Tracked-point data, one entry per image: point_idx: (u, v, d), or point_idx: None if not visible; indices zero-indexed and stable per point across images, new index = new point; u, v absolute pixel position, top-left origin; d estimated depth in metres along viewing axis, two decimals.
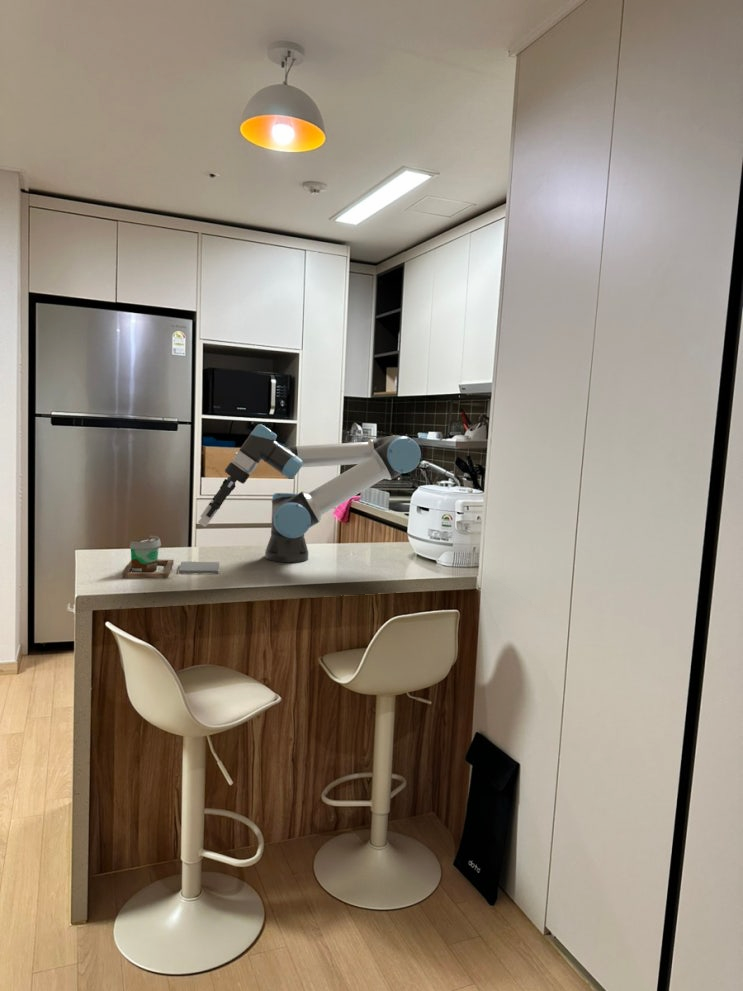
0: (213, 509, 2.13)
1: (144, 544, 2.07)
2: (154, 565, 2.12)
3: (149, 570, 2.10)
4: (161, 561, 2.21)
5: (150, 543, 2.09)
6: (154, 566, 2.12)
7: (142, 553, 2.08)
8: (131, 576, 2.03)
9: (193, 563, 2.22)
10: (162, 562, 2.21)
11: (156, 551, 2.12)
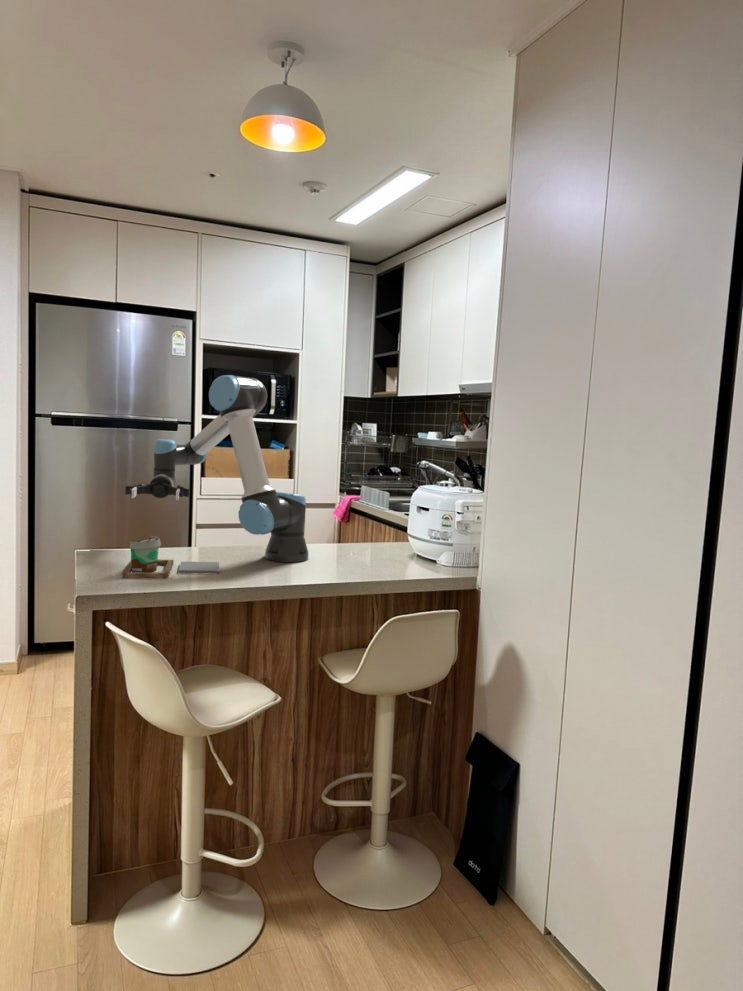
0: (130, 490, 2.24)
1: (144, 544, 2.07)
2: (154, 565, 2.12)
3: (149, 570, 2.10)
4: (161, 561, 2.21)
5: (150, 543, 2.09)
6: (154, 566, 2.12)
7: (142, 553, 2.08)
8: (131, 576, 2.03)
9: (193, 563, 2.22)
10: (162, 562, 2.21)
11: (156, 551, 2.12)
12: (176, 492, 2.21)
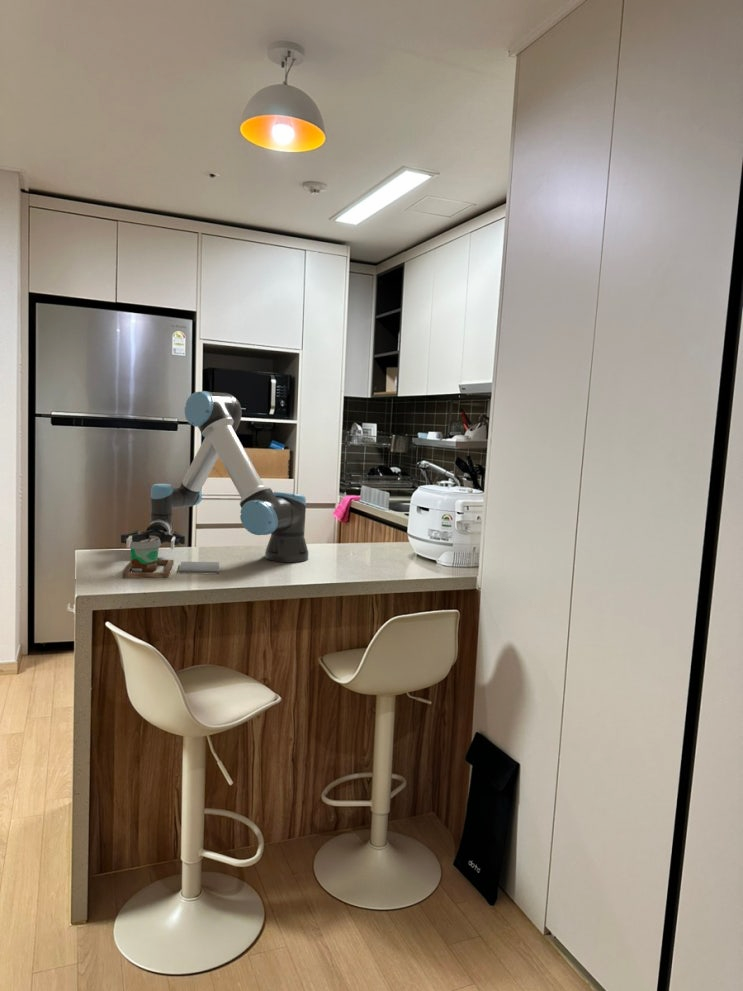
0: (125, 539, 2.23)
1: (144, 544, 2.07)
2: (154, 565, 2.12)
3: (149, 570, 2.10)
4: (161, 561, 2.21)
5: (150, 543, 2.09)
6: (154, 566, 2.12)
7: (142, 553, 2.08)
8: (131, 576, 2.03)
9: (193, 563, 2.22)
10: (162, 562, 2.21)
11: (156, 551, 2.12)
12: (171, 541, 2.20)
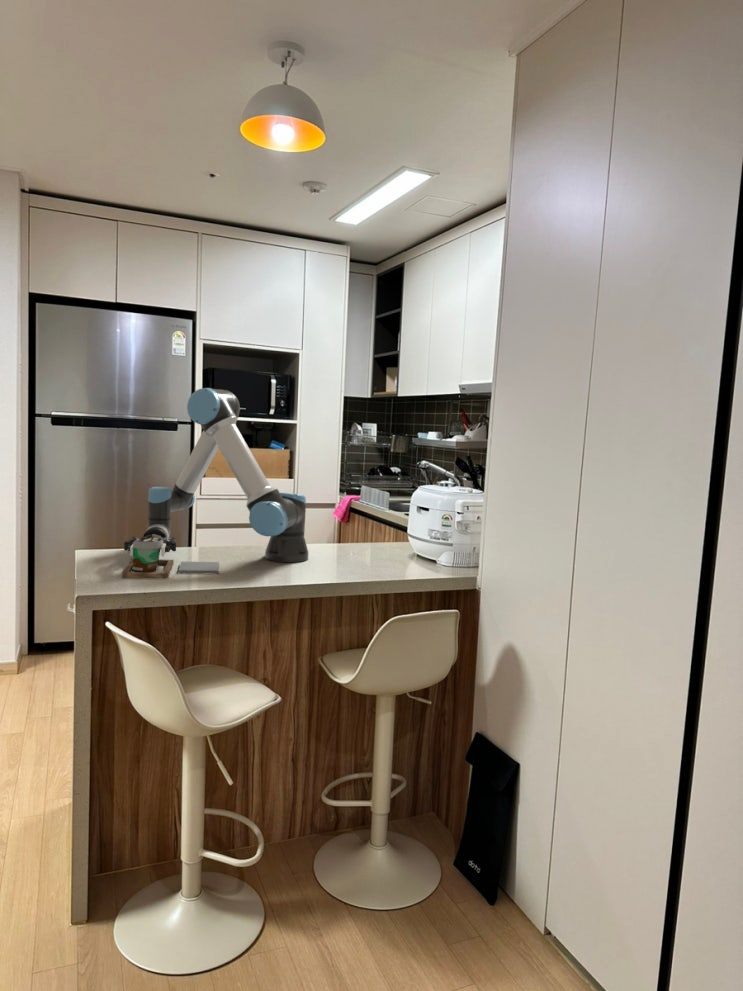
0: None
1: (147, 544, 2.07)
2: (155, 565, 2.12)
3: (150, 570, 2.10)
4: (161, 561, 2.21)
5: (153, 544, 2.08)
6: (155, 566, 2.12)
7: (144, 553, 2.08)
8: (131, 576, 2.03)
9: (193, 563, 2.22)
10: (162, 562, 2.21)
11: (158, 551, 2.12)
12: (161, 548, 2.08)
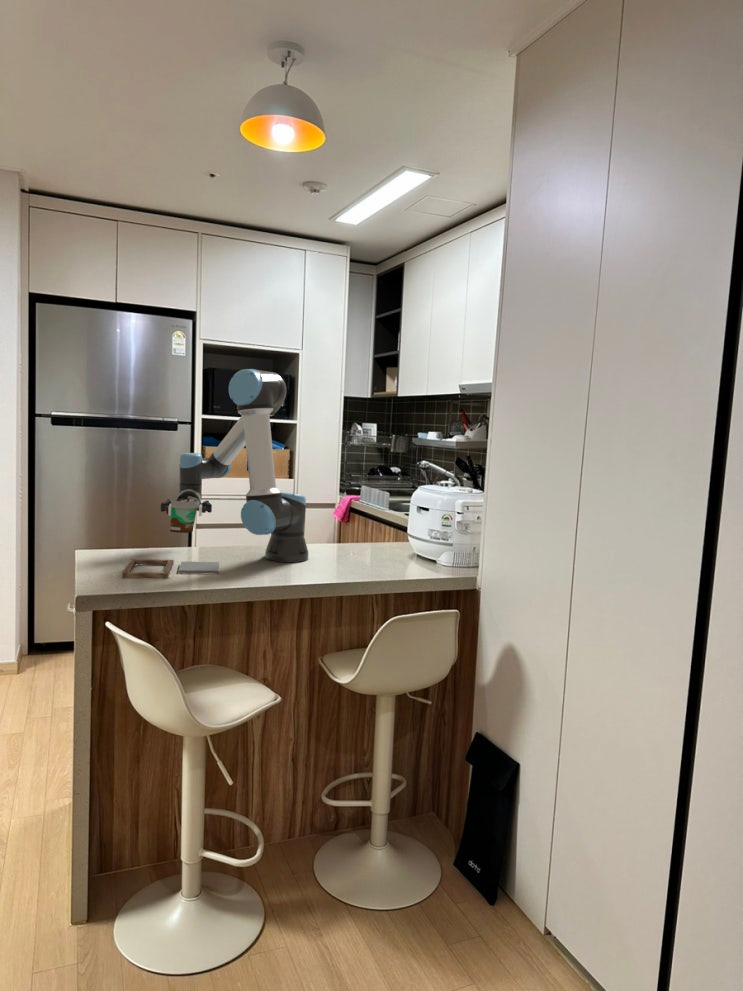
0: (166, 507, 2.15)
1: (185, 504, 2.10)
2: (192, 525, 2.15)
3: (187, 530, 2.14)
4: (161, 561, 2.21)
5: (191, 503, 2.12)
6: (191, 526, 2.15)
7: (182, 513, 2.11)
8: (131, 576, 2.03)
9: (193, 563, 2.22)
10: (162, 562, 2.21)
11: (195, 512, 2.15)
12: (199, 508, 2.12)
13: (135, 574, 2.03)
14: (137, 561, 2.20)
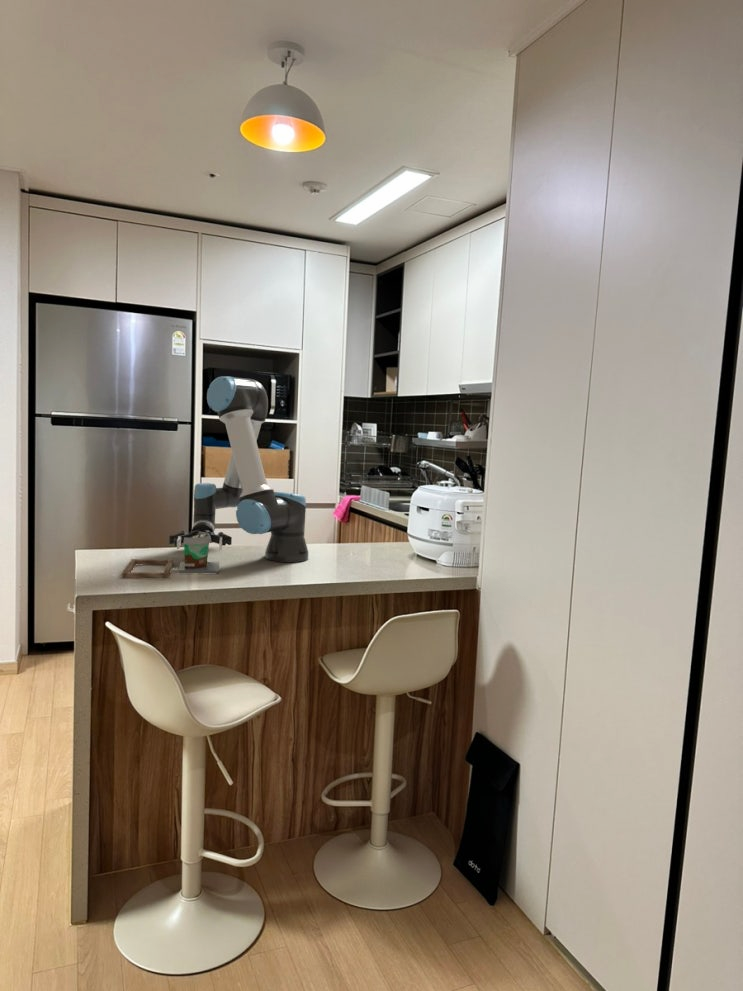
0: None
1: (197, 540, 2.13)
2: (205, 560, 2.18)
3: (201, 565, 2.16)
4: (161, 561, 2.21)
5: (203, 539, 2.14)
6: (205, 561, 2.18)
7: (195, 549, 2.14)
8: (131, 576, 2.03)
9: None
10: (162, 562, 2.21)
11: (207, 546, 2.18)
12: (219, 542, 2.15)
13: (135, 574, 2.03)
14: (137, 561, 2.20)
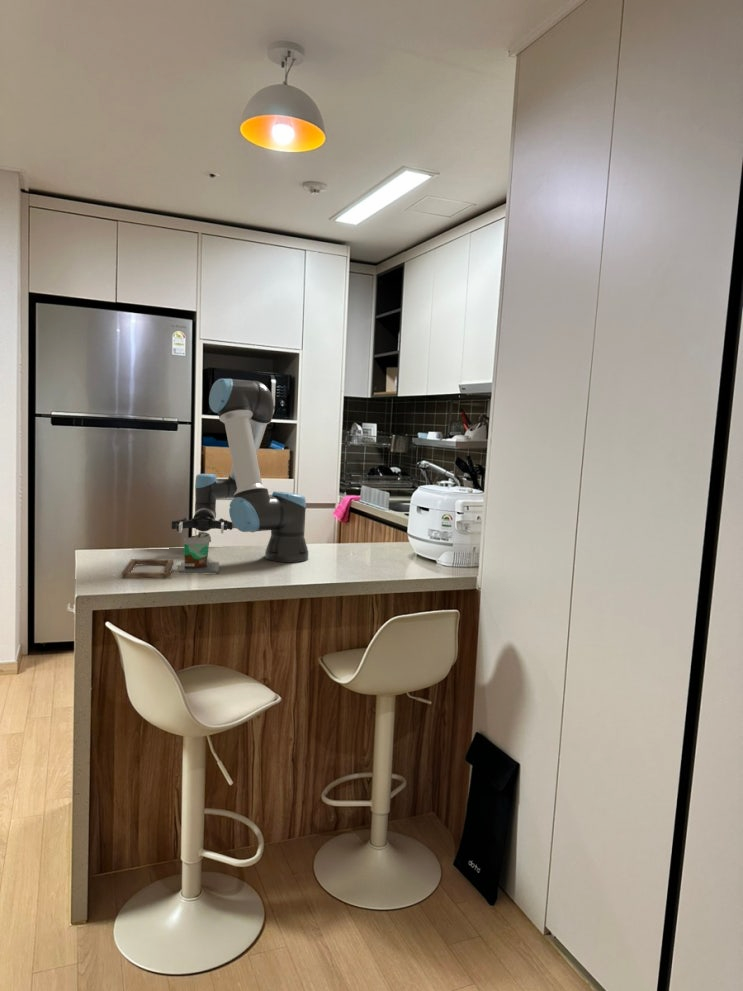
0: None
1: (197, 540, 2.13)
2: (205, 560, 2.18)
3: (201, 565, 2.16)
4: (161, 561, 2.21)
5: (203, 539, 2.15)
6: (205, 561, 2.18)
7: (195, 549, 2.14)
8: (131, 576, 2.03)
9: None
10: (162, 562, 2.21)
11: (207, 546, 2.18)
12: (221, 526, 2.28)
13: (135, 574, 2.03)
14: (137, 561, 2.20)
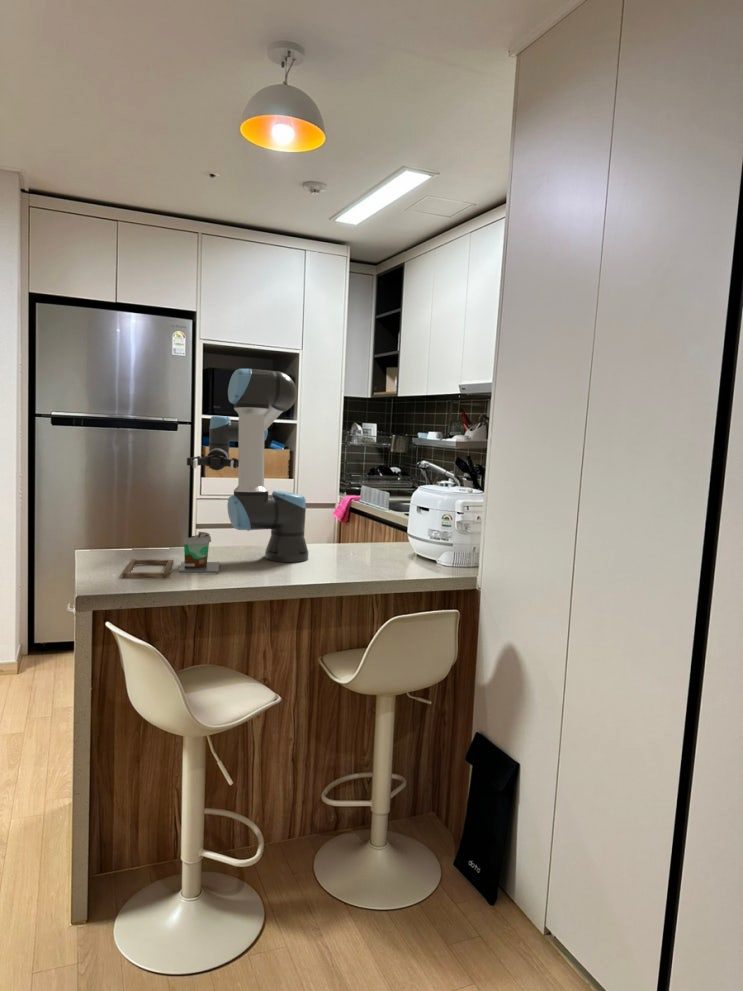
0: None
1: (197, 540, 2.13)
2: (205, 560, 2.18)
3: (201, 565, 2.16)
4: (161, 561, 2.21)
5: (203, 539, 2.14)
6: (205, 561, 2.18)
7: (195, 549, 2.14)
8: (131, 576, 2.03)
9: None
10: (162, 562, 2.21)
11: (207, 546, 2.18)
12: (231, 462, 2.35)
13: (135, 574, 2.03)
14: (137, 561, 2.20)
